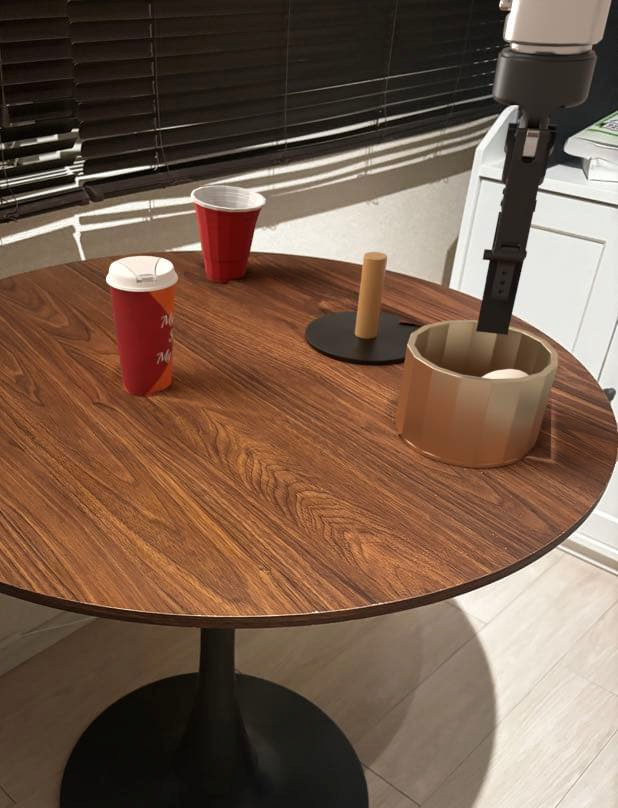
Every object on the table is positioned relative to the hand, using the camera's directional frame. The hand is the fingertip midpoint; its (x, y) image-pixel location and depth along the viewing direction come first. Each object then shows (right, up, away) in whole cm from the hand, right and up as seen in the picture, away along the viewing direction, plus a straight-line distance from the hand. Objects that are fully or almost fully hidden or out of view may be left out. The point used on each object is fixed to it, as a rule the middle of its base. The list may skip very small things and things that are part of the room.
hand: (495, 304), depth 78 cm
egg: (0, -10, +7) cm, 13 cm away
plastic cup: (-25, +17, +45) cm, 54 cm away
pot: (0, -11, +9) cm, 14 cm away
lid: (-8, +3, +26) cm, 27 cm away
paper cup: (-35, -5, +17) cm, 39 cm away
